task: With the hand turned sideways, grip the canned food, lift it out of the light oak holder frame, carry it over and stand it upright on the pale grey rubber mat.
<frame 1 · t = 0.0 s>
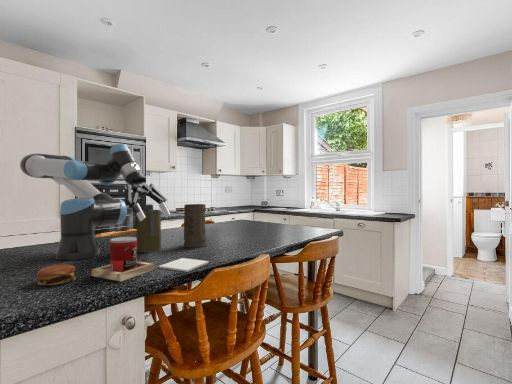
hand: (156, 217, 115), 15 cm above the counter, tool tilted 35°, fingers open, 13 cm apart
burger: (57, 282, 83), on the counter
canned food: (124, 273, 91), resting in oak holder frame
oak holder frame: (124, 272, 91), on the counter
canister: (149, 250, 125), on the counter
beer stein: (196, 244, 137), on the counter
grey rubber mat: (184, 265, 100), on the counter
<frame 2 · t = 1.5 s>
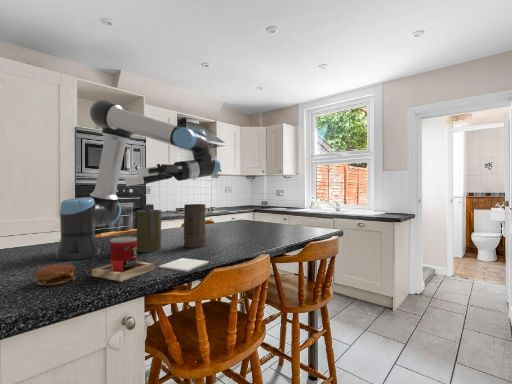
hand: (131, 178, 99), 31 cm above the counter, tool horizontal, fingers open, 13 cm apart
nothing on the counter moved.
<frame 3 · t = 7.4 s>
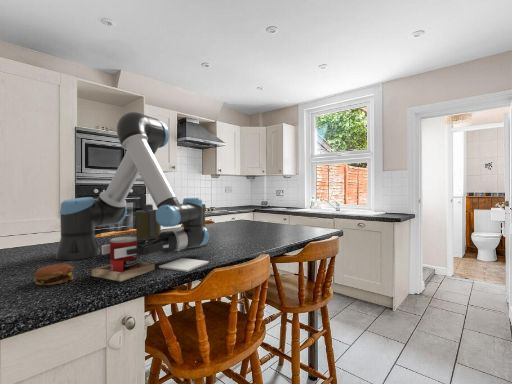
hand: (108, 252, 87), 8 cm above the counter, tool horizontal, fingers closed on canned food, 8 cm apart
canned food: (124, 273, 91), resting in oak holder frame, touching gripper
when the fingers open (10 cm above the counter, at t = 12.7 s): canned food drops 1 cm, resting on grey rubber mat.
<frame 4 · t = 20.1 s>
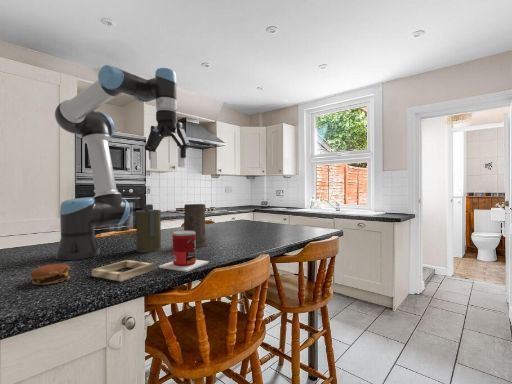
hand: (167, 168, 107), 35 cm above the counter, tool pointing down, fingers open, 13 cm apart
burger: (51, 282, 84), on the counter
canned food: (184, 264, 100), resting on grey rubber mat
everything else where it was.
at the end: canned food inside the target area on the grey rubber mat (0.0 cm from its centre), point 0.4 cm above the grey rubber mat's base; canned food tilted 0°; the gripper is holding nothing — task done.
